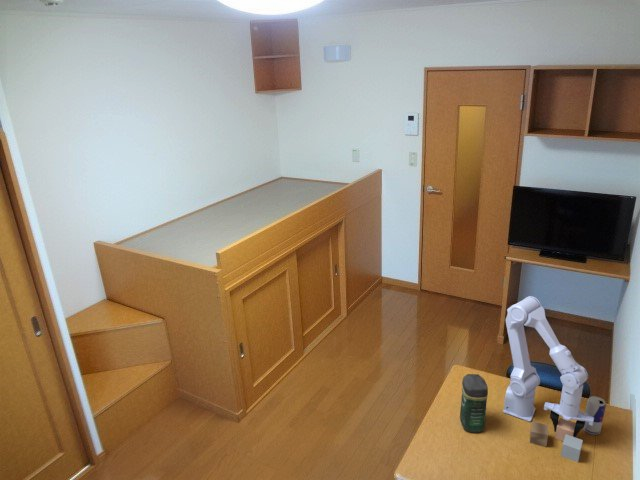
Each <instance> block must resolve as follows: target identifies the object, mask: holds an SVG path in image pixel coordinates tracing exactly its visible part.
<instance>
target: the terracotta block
mask: <svg viewBox="0 0 640 480" xmlns="http://www.w3.org/2000/svg"><path fill="white" fill-rule="evenodd" d="M575 424H576V422H574V421H573V420H570V421H568V420H565V419H563V417H559V420H558V424H557V429H556V432H555V434H554V435H555V436H554V439H556V440H558V441H561V442H563V441H564V438H565V434H567V435H570V436H572V437H573V434H574V431H575Z"/></svg>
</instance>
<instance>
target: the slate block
mask: <svg viewBox="0 0 640 480" xmlns="http://www.w3.org/2000/svg"><path fill="white" fill-rule="evenodd" d="M582 447H583V439H581V438H577V437H572V436H570V435H567V434H565V438H564V441H562V448H561V452H560V457H562V458H565V459H567V460H570V461H573V462H576V463H579V460H580V455H581V453H582V452H581V451H582Z"/></svg>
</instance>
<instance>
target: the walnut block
mask: <svg viewBox="0 0 640 480" xmlns="http://www.w3.org/2000/svg"><path fill="white" fill-rule="evenodd" d="M530 427H531V428H530V435H529V444H533V445H537V446H539V447H544V448H547V445H548V438H549V425H548V424H546V423H540V422H537V421H532V420H531V426H530Z"/></svg>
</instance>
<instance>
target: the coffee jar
mask: <svg viewBox="0 0 640 480" xmlns="http://www.w3.org/2000/svg"><path fill="white" fill-rule="evenodd" d="M488 392H489V387H488V384H487V382H486V380H485V378H483V376H481V375H480V374H478V373H477V374H476V373H470V374H469V373H467V374H465V376H463V378H462V383H461V402H460V411H459V419H460V420H459V421H460V423H461V426H462V428H463V429H464V431H467V432H470V433H481V432H482V431H484V430H485V426H486V412H487V404H488V403H487V402H488V401H487V400H488V394H489V393H488Z"/></svg>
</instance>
